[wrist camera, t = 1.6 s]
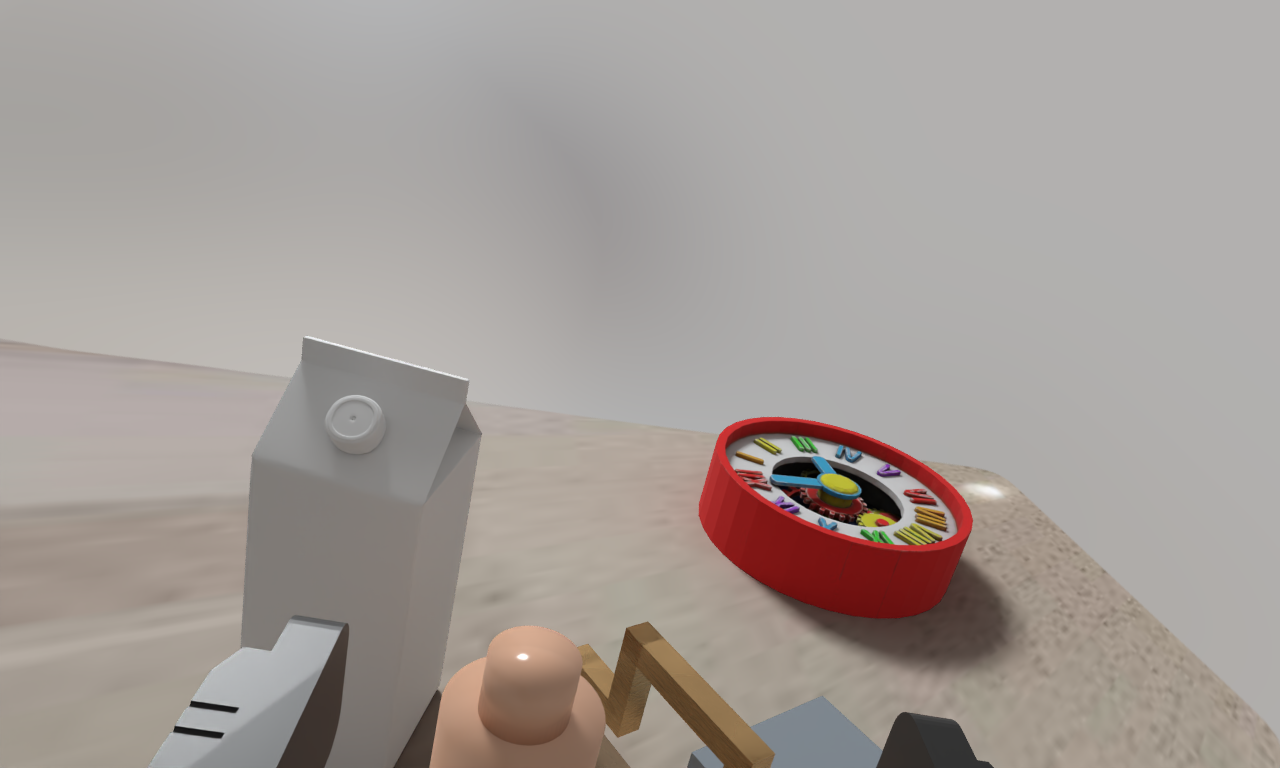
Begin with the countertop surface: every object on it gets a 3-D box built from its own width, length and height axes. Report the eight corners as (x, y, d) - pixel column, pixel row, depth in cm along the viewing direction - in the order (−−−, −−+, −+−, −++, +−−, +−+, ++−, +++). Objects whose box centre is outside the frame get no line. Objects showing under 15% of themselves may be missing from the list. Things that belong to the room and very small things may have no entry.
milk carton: (312, 649, 46) (344, 313, 39) (440, 687, 46) (495, 353, 39) (233, 747, 39) (255, 363, 32) (381, 792, 39) (436, 412, 32)
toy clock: (1028, 560, 61) (765, 540, 56) (997, 627, 63) (741, 614, 58) (896, 430, 79) (687, 405, 73) (876, 486, 81) (672, 465, 76)
